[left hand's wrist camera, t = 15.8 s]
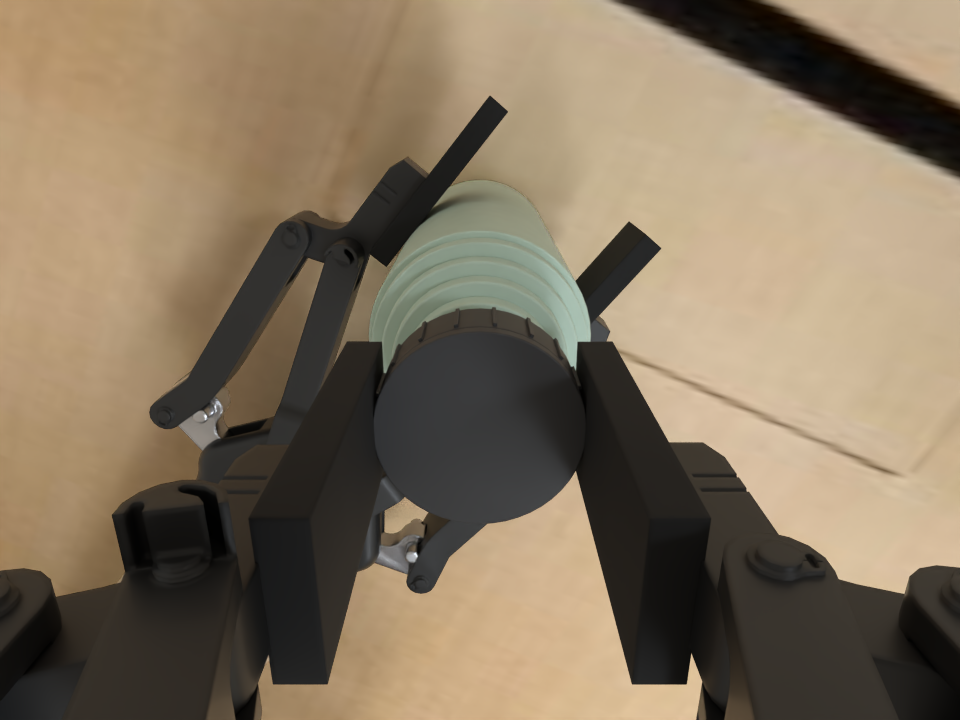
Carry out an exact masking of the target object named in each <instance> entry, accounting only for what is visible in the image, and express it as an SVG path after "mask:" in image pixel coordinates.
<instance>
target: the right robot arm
mask: <svg viewBox="0 0 960 720" xmlns="http://www.w3.org/2000/svg"><path fill="white" fill-rule="evenodd" d="M507 113H508V111H507V110H506V109H505V108H503V107H502V106H501V105H500V104H499V103H498V102H497V101H496V100H494V99H493V98H492V97H491V96H489V97H488V99H487V100H486V101H485V102H484V104H483V105H482V106H481V108H480V109H479V110H478V112H477V113H476V114H475V115H474V117H473V118H472V119H471V121H470V122H469V123H468V125H467V126H466V127H465V128H464V130H463V131H462V132H461V134H460V135H459V136H458V138H457V139H456V140H455V141H454V143H453V144H452V145H451V147H450V148H449V149H448V151H447V152H446V153H445V154H444V156H443V157H442V158H441V160H440V161H439V162H438V164H437V165H436V166H435V167H434V169H433V170H432V171H431V173H430V174H428V173H427V172H425V171H424V170H423V169H422V168H421V167H419V166H418V165H417V164H416V163H415V162H413V161H412V160H411V159H410V158H409V157H407V158H405V159H403V160H402V161H400V162H398V163H396V164H395V165H393V166H392V167H390V168H389V170H388V171H387V172H386V174H385V175H384V176H383V178H382V179H381V181H380V182H379V183H378V185H377V186H376V187H375V189H374V190H373V191H372V193H371V194H370V195H369V197H368V198H367V199H366V201H365V202H364V203H363V205H362V206H361V207H360V209H359V210H358V211H357V213H356V214H355V215H354V217H353V218H352V219H351V221H349V222H345V223H336V222H332V221H329V220H327V219H324V218H321V217H319V216H318V215H317V214H316V213H314V212H312V211H302V212H300V213H298V214H296V215H294V216H292V217H291V218H289V219H287V220H286V221H284V222H282V223H281V224H280V225H279V226H278V227H277V228H276V229H275V231H274V232H273V234H272V236H271V238H270V239H269V241H268V243H267V244H266V246H265V248H264V249H263V251H262V253H261V254H260V256H259V258H258V260H257V261H256V263H255V265H254V266H253V268H252V270H251V271H250V273H249V275H248V276H247V278H246V280H245V282H244V283H243V285H242V287H241V288H240V290H239V292H238V293H237V295H236V297H235V298H234V300H233V302H232V304H231V305H230V307H229V309H228V310H227V312H226V314H225V315H224V317H223V319H222V320H221V322H220V324H219V326H218V327H217V329H216V331H215V332H214V334H213V336H212V337H211V339H210V341H209V342H208V344H207V346H206V348H205V349H204V351H203V353H202V354H201V356H200V358H199V359H198V361H197V363H196V364H195V366H194V368H193V370H192V371H191V372H189V373H188V374H187V375H185V376H184V377H183V378H181V379H180V380H179V381H178V382H177V383H176V384H175V385H174V386H172V387H171V388H170V389H169V390H168V391H167V392H166V393H165V394H164V395H163V396H161V397H160V398H159V399H158V400H157V401H156V402H155V403H154V404H153V405H152V406H151V408H150V412H149V413H150V418H151V419H152V421H153V422H154V423H155V424H156V425H157V426H159V427H161V428H164V429H172V428H175V427H177V426H179V427H180V428H181V429H182V430H183V431H184V432H185V433H186V434H187V435H188V436H189V437H190V439H191V440H192V441H193V442H194V443H195V444H196V445H197V446H198V447H199V448H200V449H201V450H202V453H201V455H200V458H199V471H198V476H197V479H196V480H204V481H208V482H212V483H217V484H218V483H219V482H220V480H223V476H224V475H225V473H226V472H227V470H228V469H229V467H230V466H231V465H232V463H233V462H234V460H235V459H236V458H238V457H239V456H241V455H242V454H244V453H245V452H247V451H248V450H250V449H251V448H253V447H254V446H256V445H290V443H291V441H292V439H293V437H294V436H295V434H296V432H297V430H298V428H299V427H300V425H301V423H302V421H303V420H304V418H305V416H306V414H307V412H308V411H309V409H310V407H311V405H312V403H313V402H314V400H315V398H316V396H317V395H318V393H319V391H320V389H321V387H322V386H323V384H324V382H325V380H326V378H327V377H328V375H329V373H330V371H331V370H332V367H333V364H334V361H335V358H336V355H337V352H338V349H339V346H340V343H341V340H342V337H343V334H344V331H345V328H346V325H347V322H348V319H349V316H350V313H351V310H352V307H353V304H354V301H355V299H356V296H357V293H358V290H359V287H360V284H361V281H362V278H363V275H364V272H365V269H366V266H367V263H368V260H369V257H370V255H372V256H373V257H374V258H376V259H377V260H378V261H379V262H381V263H382V264H383V265H385V266H386V267H387V265H388V264H389V263H390V262H391V260H392V259H393V258H394V256H395V255H396V254H397V253H398V251H399V250H400V249H401V248H402V246H403V245H404V244H405V242H406V241H407V240H408V239H409V237H410V236H411V235H412V233H413V232H414V231H415V230H416V228H417V227H418V226H419V225H420V223H421V222H422V221H423V220H424V218H425V217H426V216H427V214H428V213H429V212H430V211H431V209H432V208H433V207H434V206H435V204H436V203H437V202H438V200H439V199H440V198H441V197H442V195H443V194H444V193H445V192H446V190H447V189H448V188H449V186H450V185H451V184H452V183H453V181H454V180H455V179H456V177H457V176H458V175H459V174H460V172H461V171H462V170H463V169H464V167H465V166H466V165H467V163H468V162H469V161H470V160H471V158H472V157H473V156H474V155H475V153H476V152H477V151H478V149H479V148H480V147H481V146H482V144H483V143H484V142H485V141H486V139H487V138H488V137H489V135H490V134H491V133H492V132H493V130H494V129H495V128H496V127H497V125H498V124H499V123H500V121H501V120H502V119H503V118H504V116H505V115H506V114H507ZM660 249H661V248H660V247H659V246H658V245H657V244H656V243H655V242H654V241H653V240H651V239H650V238H649V237H648V236H647V235H646V234H645V233H643V232H642V231H641V230H639V229H638V228H637V227H636V226H634V225H633V224H632V223H630V222H628V223H627V224H626V225H625V226H624V228H623V229H622V230H621V231H620V232H619V233H618V234H617V235H616V236H615V238H614V239H613V240H612V241H611V242H610V243H609V244H608V245H607V246H606V248H605V249H604V250H603V251H602V252H601V253H600V254H599V255H598V257H597V258H596V259H595V260H594V261H593V262H592V263H591V264H590V265H589V267H588V268H587V269H586V270H585V271H584V272H583V273H582V274H581V275H580V277H579V278H578V279H577V280H576V281H575V282H576V284H577V285H578V287H579V289H580V291H581V293H582V295H583V298H584V301H585V303H586V306H587V310H588V315H589V319H590V330H591V340H590V342H606V341H607V338H608V336H609V333H610V330H609V329H608V327H607V325H606V323H605V322H604V320H603V319H602V318H600V317H599V315H600V314H601V313H602V312H603V311H604V310H605V309H606V308H607V306H608V305H609V304H610V303H611V302H612V301H613V300H614V299H615V298H616V297H617V296H618V295H619V294H620V292H621V291H622V290H623V289H624V288H625V287H626V286H627V285H628V284H629V283H630V282H631V281H632V280H633V278H634V277H635V276H636V275H637V274H638V273H639V272H640V271H641V270H642V269H643V268H644V267H645V266H646V264H647V263H648V262H649V261H650V260H651V259H652V258H653V257H654V256H655V255H656V254H657V253H658V252H659V251H660ZM308 258H311V259H313V260H316V261H319V262H322V263H324V266H323V269H322V272H321V276H320V279H319V282H318V285H317V288H316V292H315V295H314V298H313V301H312V304H311V308H310V311H309V314H308V317H307V321H306V324H305V327H304V330H303V333H302V337H301V340H300V343H299V346H298V349H297V353H296V356H295V359H294V362H293V365H292V369H291V372H290V375H289V378H288V381H287V385H286V388H285V391H284V394H283V397H282V400H281V403H280V405H279V407H278V410H277V412H276V414H275V417H271V418H266V419H262V420H258V421H254V422H250V423H246V424H241V425H237V426H233V427H229V428H228V427H227V426H226V424H225V422H224V413H225V411H226V410H227V409H228V407H229V406H230V403H231V400H230V396H229V390H228V388H226V387H225V385H226V384H227V382H228V381H229V380H230V379H231V378H232V377H233V376H234V375H235V374H236V373H237V371H238V370H239V369H240V367H241V366H242V364H243V363H244V361H245V360H246V358H247V356H248V355H249V353H250V352H251V350H252V348H253V347H254V345H255V343H256V342H257V340H258V339H259V337H260V335H261V334H262V332H263V331H264V329H265V327H266V326H267V324H268V322H269V321H270V319H271V318H272V316H273V314H274V313H275V311H276V310H277V308H278V306H279V305H280V303H281V301H282V300H283V298H284V297H285V295H286V293H287V292H288V290H289V289H290V287H291V285H292V284H293V282H294V280H295V279H296V277H297V276H298V274H299V272H300V271H301V269H302V267H303V266H304V264H305V263H306V261H307V259H308ZM404 497H405V496H404V495H403V494H402V493H401V492H400V491H399V490H398V489H397V488H396V487H395V486H394V485H393V483H392V482H391V481H390V480H389V478H388V477H387V475H386V473H385V472H384V471H383V475H382V479H381V482H380V486H379V490H378V494H377V498H376V502H375V505H374V509H373V513H372V517H371V521H370V524H369V528H368V532H367V536H366V540H365V543H364V547H363V551H362V555H361V559H360V562H359V566H358V570H357V572H358V571H361V570H364V569H366V568H368V567H370V566H371V565H372V564H374V563H377V564H379V565H382V566H385V567H388V568H391V569H394V570H396V571H399V572H402V573H405V574H408V575H407V586H408V587H409V589H410V590H411V591H413V592H415V593H420V594H422V593H427V592H429V591H431V590H432V589H433V587H434V586H435V584H436V582H437V580H438V578H439V576H440V574H441V572H442V570H443V568H444V566H445V564H446V562H447V560H448V558H449V557H450V556H451V555H452V554H453V553H454V552H456V551H457V550H458V549H459V548H460V547H461V546H462V545H464V544H465V543H466V542H467V541H468V540H469V539H470V538H472V537H473V536H474V535H475V534H476V533H477V532H478V531H480V530H481V529H482V528H483V527H484V526H485V525H486V524H488V523H486V524H473V523H463V522H457V521H452V520H448V519H445V518H442V517H439V516H436V515H434V514H432V513H428V514H427V515H426V517H425V519H424V521H421V520H420V519H413V520H412V521H411V523H409V524H407V525H406V526H405V527H404V528H403V529H402V530H401V531H399V532H398V533H394V534H389V533H385V532H384V512H385V510H386V509H388V508H390V507H392V506H394V505H395V504H397V503H398V502H400V501H401V500H402V499H403V498H404ZM123 576H124V574H123ZM123 576H122V577H121V578H120V579H119V581H118V582H117V583H120V582H121V580H122V578H123ZM268 662H269V655H268V658H267V660H266V663H265V665H266V664H267V663H268Z"/></svg>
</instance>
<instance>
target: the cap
mask: <svg viewBox="0 0 960 720" xmlns="http://www.w3.org/2000/svg"><path fill="white" fill-rule="evenodd" d="M581 389H582V387H581V384H580V381H579V378H578V376H577V373H576V370H575V367H574V366H572V367H571V365H570V363H569V361H568V359H567V357H566V355H565V354H564V352H563V351H562V349H561V348H560V345H559V342H558V340H557V339H556V338H555V339H553V338H552V337H551V336H550V335H549V334H547V333H546V332H545V331H544V330H543V329H542V328H540V327H539V326H537V325H535V324H534V323H532V322H531V319H530V318H528V317H527V318H526V319H525V318H523V317H520V316H518V315H515V314H512V313H509V312H505V311H500V310H496V307H492V309H484V308H477V309H465V310H460V309H459V308H457V309H456V310H455V311H454V312H451V313H448V314H444V315H441V316H439V317H437V318H435V319H433V320H431V321H429V322H426V321H424V322H423V323H422V326H421V327H419V328H418V329H417V330H416V331H414V332H413V333H412V334H411V335H410V336H409V337H408V338H407V339H406V340H405V341H404V342H403V343H402V344H398V345H397V347H396V350H395V353H394V356H393V358H392V360H391V362H390V364H389V366H388V369H387V372H386V373H383V375H382V378H381V380H380V383H379V386H378V389H377V391H376V394H375V397H378V398H377V401H376V404H375V407H374V414H373V421H374V437H375V450H376V454H377V457H378V459H379V462H380V464H381V466H382V468H383V470H384V472H385V473H386V475H387V477H388V478H389V480H390V481H391V482H392V483H393V485H394V486H395V487H396V488H397V489H398V490H399V491H400V492H401V493H402V494H403V495H404V496H405V497H406V498H407V499H409V500H410V501H411V502H413V503H414V504H415V505H417V506H418V507H420V508H422V509H424V510H426V511H427V512H429V513H432V514H434V515H436V516H439V517H442V518H445V519H448V520H452V521H457V522H463V523H473V524H486V523H497V522H503V521H507V520H511V519H515V518H518V517H521V516H523V515H526V514H528V513H530V512H532V511H534V510H536V509H538V508H539V507H541V506H543V505H544V504H546V503H547V502H548V501H550V500H551V499H552V498H553V497H555V496H556V495H557V494H558V493H559V492H560V491H561V490H562V489H563V488H564V486H565V485H566V484H567V483H568V482H569V480H570V479H571V477H572V476H573V474H574V473H575V471H576V469H577V467H578V465H579V463H580V461H581V458H582V455H583V452H584V445H585V430H586V410H585V406H584V403H583V399H582V396H581V393H580V390H581Z"/></svg>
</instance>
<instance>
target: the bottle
mask: <svg viewBox="0 0 960 720" xmlns="http://www.w3.org/2000/svg"><path fill="white" fill-rule="evenodd" d="M492 307H496V310H500V311H505V312H509V313H512V314H515V315H518V316H520V317H523V318H525V319H526V318H527V317H528V318H530V319H531V322H532V323H534V324H535V325H537V326H539V327H540V328H542V329H543V330H544V331H545V332H546V333H547V334H549V335H550V336H551V337H552V338H553V339H555V338H556V339H557V340H558V342H559V345H560V348H561V349H562V351H563V352H564V354H565V355H566V357H567V359H568V361H569V363H570V365H571V367H572V366H574V367H575V370H576V359H577V342H590V340H591V330H590V319H589V315H588V310H587V306H586V303H585V301H584V298H583V295H582V293H581V291H580V289H579V287H578V285H577V284H576V282H575V280H574V278H573V276H572V274H571V272H570V271H569V269H568V267H567V265H566V263H565V261H564V260H563V258H562V256H561V254H560V252H559V250H558V248H557V247H556V245H555V243H554V241H553V239H552V237H551V236H550V234H549V232H548V230H547V228H546V226H545V224H544V223H543V221H542V219H541V217H540V215H539V213H538V212H537V210H536V209H535V207H534V206H533V205H532V204H531V202H530V201H529V200H528V199H527V198H526V197H524V196H523V195H522V194H521V193H520V192H518V191H516V190H515V189H513V188H511V187H509V186H507V185H505V184H502V183H499V182H495V181H489V180H471V181H465V182H461V183H458V184H455V185H453V186H451V187H449V188H448V189H447V190H446V192H445V193H444V194H443V195H442V197H441V198H440V199H439V200H438V202H437V203H436V204H435V206H434V207H433V208H432V209H431V211H430V212H429V213H428V214H427V216H426V217H425V218H424V220H423V221H422V222H421V223H420V225H419V226H418V227H417V228H416V230H415V231H414V232H413V233H412V235H411V236H410V237H409V239H408V240H407V241H406V243H405V245H404V246H403V248H402V250H401V252H400V254H399V256H398V257H397V259H396V261H395V263H394V265H393V267H392V268H391V270H390V272H389V274H388V276H387V278H386V279H385V281H384V283H383V285H382V287H381V289H380V290H379V292H378V295H377V297H376V300H375V302H374V305H373V309H372V313H371V318H370V326H369V342H382V349H383V367H384V373H386V372H387V369H388V366H389V364H390V362H391V360H392V358H393V356H394V353H395V350H396V347H397V345H398V344H402V343H403V342H404V341H405V340H406V339H407V338H408V337H409V336H410V335H411V334H412V333H413V332H414V331H416V330H417V329H418V328H419V327H421V326H422V323H423V322H424V321H426V322H429V321H431V320H433V319H435V318H437V317H439V316H441V315H444V314H448V313H451V312H454V311H455V310H456V309H457V308H459V309H460V310H465V309H477V308H484V309H492Z"/></svg>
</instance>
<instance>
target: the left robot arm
mask: <svg viewBox="0 0 960 720" xmlns="http://www.w3.org/2000/svg"><path fill="white" fill-rule="evenodd" d="M383 373H384V367H383V349H382V342H347V343H346V345H345V346H344V348H343V350H342V352H341V354H340V355H339V357H338V359H337V361H336V362H335V364H334V366H333V368H332V370H331V371H330V373H329V375H328V377H327V378H326V380H325V382H324V384H323V386H322V387H321V389H320V391H319V393H318V395H317V396H316V398H315V400H314V402H313V403H312V405H311V407H310V409H309V411H308V412H307V414H306V416H305V418H304V420H303V421H302V423H301V425H300V427H299V428H298V430H297V432H296V434H295V436H294V437H293V439H292V441H291V443H290V445H256V446H254V447H253V448H251V449H250V450H248V451H247V452H245V453H244V454H242V455H241V456H239V457H238V458H236V459H235V460H234V462H233V463H232V465H231V466H230V467H229V469H228V470H227V472H226V473H225V475H224V476H223V480H220V482H219V483H218V484H217V483H212V482H208V481H204V480H180V481H175V482H170V483H165V484H160V485H157V486H155V487H152V488H149V489H147V490H144V491H141V492H139V493H137V494H136V495H134V496H133V497H131V498H129V499H128V500H126V501H125V502H123V503H122V504H121V505H120V506H119V507H118V509H117V510H116V511H115V512H114V513H113V514H112V518H113V522H114V526H115V530H116V535H117V539H118V543H119V547H120V552H121V556H122V560H123V564H124V568H125V573H124V576H123V578H122V580H121V582H120V583H116V584H113V585H109V586H106V587H102V588H97V589H92V590H87V591H82V592H77V593H73V594H68V595H63V596H58V597H56V596H55V593H54V589H53V586H52V582H51V579H50V578H48V577H47V576H46V575H45V574H43V573H42V572H41V571H36V570H30V569H24V568H23V569H13V570H3V571H0V720H261V716H262V707H261V700H260V694H259V687H258V681H259V679H260V676H261V673H262V671H263V668H264V666H265V663H266V660H267V658H268V655H269V661H270V668H271V674H272V681H273V684H328V681H329V677H330V673H331V669H332V665H333V662H334V658H335V654H336V650H337V646H338V642H339V639H340V635H341V631H342V627H343V623H344V620H345V616H346V612H347V608H348V604H349V601H350V597H351V593H352V589H353V585H354V582H355V578H356V574H357V570H358V566H359V562H360V559H361V555H362V551H363V547H364V543H365V540H366V536H367V532H368V528H369V524H370V521H371V517H372V513H373V509H374V505H375V502H376V498H377V494H378V490H379V486H380V482H381V479H382V475H383V471H384V470H383V468H382V466H381V464H380V462H379V459H378V457H377V454H376V450H375V437H374V421H373V414H374V407H375V404H376V401H377V398H378V397H375V394H376V391H377V389H378V386H379V383H380V380H381V378H382V375H383ZM576 373H577V376H578V378H579V381H580V384H581V387H582V389H581V390H580V393H581V396H582V399H583V403H584V406H585V410H586V430H585V445H584V452H583V455H582V458H581V461H580V463H579V465H578V467H577V469H576V473H577V476H578V480H579V484H580V488H581V492H582V495H583V499H584V503H585V507H586V511H587V515H588V518H589V522H590V526H591V530H592V534H593V537H594V541H595V545H596V549H597V553H598V556H599V560H600V564H601V568H602V572H603V576H604V579H605V583H606V587H607V591H608V595H609V598H610V602H611V606H612V610H613V614H614V617H615V621H616V625H617V629H618V633H619V636H620V640H621V644H622V648H623V652H624V656H625V659H626V663H627V667H628V671H629V675H630V678H631V682H632V684H687V678H688V672H689V665H690V658H691V653H692V656H693V658H694V661H695V663H696V666H697V669H698V671H699V674H700V676H701V679H702V687H701V694H700V700H699V706H698V712H697V719H696V720H960V568H957V567H947V566H937V565H936V566H931V567H925V568H919V569H918V570H917V571H916V572H914V573H913V574H912V575H911V576H910V577H909V580H908V584H907V587H906V591H905V594H901V593H896V592H891V591H886V590H882V589H877V588H872V587H867V586H862V585H857V584H854V583H850V582H846V581H843V580H839V579H838V577H837V575H836V572H835V570H834V569H833V568H832V566H831V565H830V564H829V562H828V561H827V560H826V558H825V557H824V556H822V555H821V554H819V553H818V552H817V551H815V550H814V549H813V548H811V547H810V546H808V545H806V544H803V543H801V542H799V541H797V540H794V539H792V538H790V537H786V536H781V535H779V534H778V533H777V532H776V530H775V529H774V527H773V526H772V524H771V523H770V521H769V520H768V519H767V517H766V516H765V514H764V513H763V511H762V510H761V509H760V507H759V506H758V504H757V503H756V501H755V500H754V498H753V497H752V496H751V494H750V493H749V492H747V491H746V487H745V486H744V484H743V483H742V481H741V480H740V478H739V477H737V476H736V475H737V474H736V473H735V471H734V470H733V468H732V467H731V465H730V464H729V463H728V461H727V460H726V458H725V457H724V456H722V455H721V454H719V453H718V452H716V451H715V450H713V449H712V448H710V447H709V446H707V445H706V444H704V443H669V442H668V440H667V438H666V436H665V435H664V433H663V431H662V429H661V427H660V426H659V424H658V422H657V420H656V419H655V417H654V415H653V413H652V411H651V410H650V408H649V406H648V404H647V402H646V401H645V399H644V397H643V395H642V394H641V392H640V390H639V388H638V386H637V385H636V383H635V381H634V379H633V378H632V376H631V374H630V372H629V370H628V369H627V367H626V365H625V363H624V361H623V360H622V358H621V356H620V354H619V353H618V351H617V349H616V347H615V345H614V344H613V342H577V359H576Z"/></svg>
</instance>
